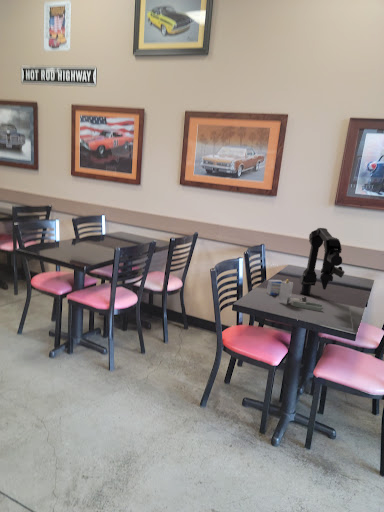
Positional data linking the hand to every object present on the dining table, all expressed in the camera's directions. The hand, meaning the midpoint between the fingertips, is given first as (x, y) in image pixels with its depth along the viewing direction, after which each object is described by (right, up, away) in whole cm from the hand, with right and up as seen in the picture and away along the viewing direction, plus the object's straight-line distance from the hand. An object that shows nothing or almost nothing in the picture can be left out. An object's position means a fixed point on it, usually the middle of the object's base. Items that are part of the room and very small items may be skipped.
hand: (324, 289), depth 203 cm
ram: (-13, -9, +5) cm, 16 cm away
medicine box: (-22, -5, +26) cm, 34 cm away
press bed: (-12, -10, +9) cm, 18 cm away
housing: (-20, -8, +7) cm, 23 cm away
